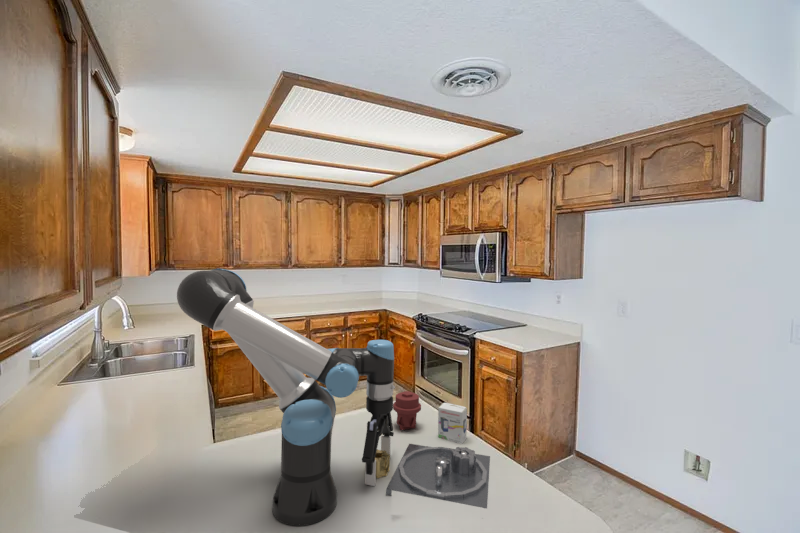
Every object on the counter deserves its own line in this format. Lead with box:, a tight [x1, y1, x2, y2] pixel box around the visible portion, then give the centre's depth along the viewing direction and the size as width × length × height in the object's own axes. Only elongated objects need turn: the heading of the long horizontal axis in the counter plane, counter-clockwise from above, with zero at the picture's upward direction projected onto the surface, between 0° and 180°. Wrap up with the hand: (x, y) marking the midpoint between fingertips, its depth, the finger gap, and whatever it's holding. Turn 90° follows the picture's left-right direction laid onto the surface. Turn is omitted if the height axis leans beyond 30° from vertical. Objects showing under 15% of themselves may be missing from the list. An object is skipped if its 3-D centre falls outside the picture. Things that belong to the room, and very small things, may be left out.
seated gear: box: [451, 446, 476, 475], centre depth 107 cm, size 7×7×4 cm
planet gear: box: [375, 448, 391, 479], centre depth 107 cm, size 7×7×4 cm
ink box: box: [437, 402, 468, 445], centre depth 125 cm, size 9×5×12 cm, turn 62°
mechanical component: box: [393, 390, 422, 431], centre depth 136 cm, size 12×10×10 cm
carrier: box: [385, 443, 491, 509], centre depth 105 cm, size 25×25×6 cm
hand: (378, 470), depth 107 cm, fingers open, 13 cm apart
